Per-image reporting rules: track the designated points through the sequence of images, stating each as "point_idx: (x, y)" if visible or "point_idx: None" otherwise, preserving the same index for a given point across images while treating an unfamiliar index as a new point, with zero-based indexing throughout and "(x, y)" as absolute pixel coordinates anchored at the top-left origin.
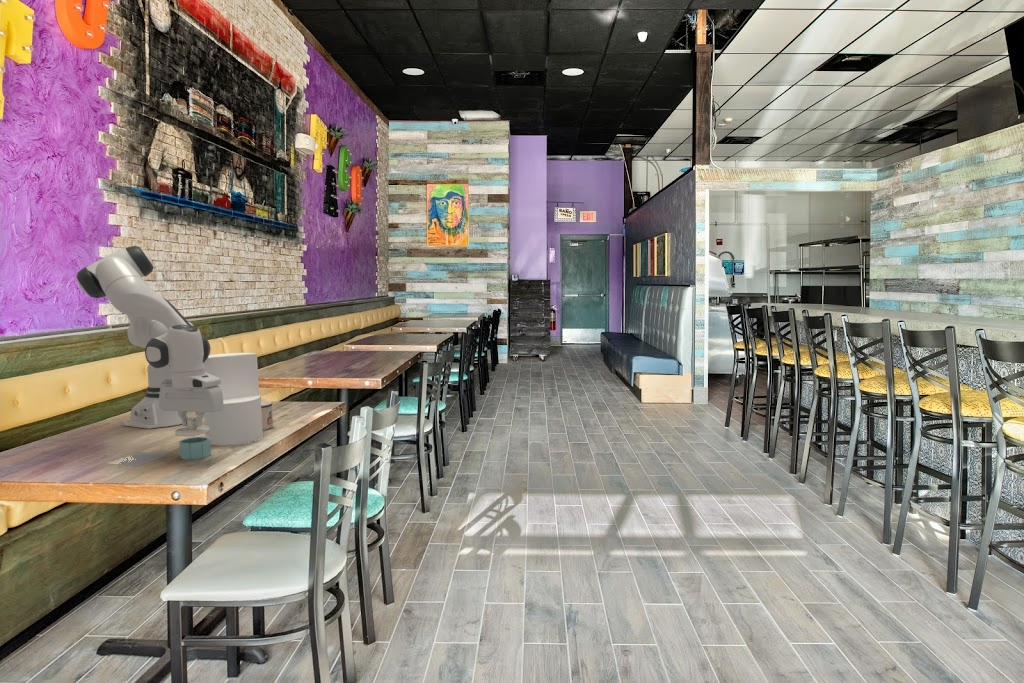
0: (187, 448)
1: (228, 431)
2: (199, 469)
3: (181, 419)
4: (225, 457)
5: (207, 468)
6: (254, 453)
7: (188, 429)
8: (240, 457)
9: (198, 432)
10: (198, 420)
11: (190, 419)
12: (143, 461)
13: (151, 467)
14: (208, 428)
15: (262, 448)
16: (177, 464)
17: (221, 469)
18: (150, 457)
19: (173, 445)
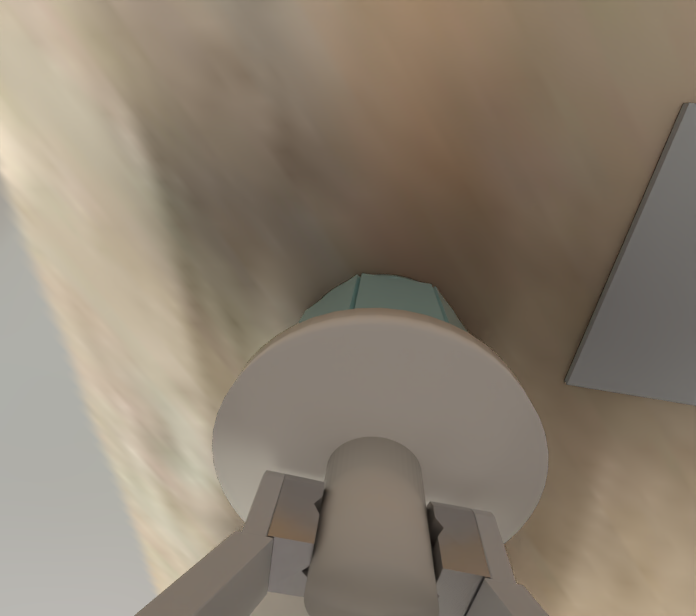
0: (375, 300)
1: (303, 599)
2: (168, 78)
3: (531, 600)
4: (197, 338)
5: (133, 107)
6: (100, 403)
7: (392, 447)
8: (115, 339)
9: (238, 379)
10: (229, 544)
11: (354, 570)
12: (690, 220)
13: (560, 100)
14: (224, 492)
15: (128, 475)
16: (401, 188)
17: (26, 91)
18: (677, 315)
19: (638, 540)
